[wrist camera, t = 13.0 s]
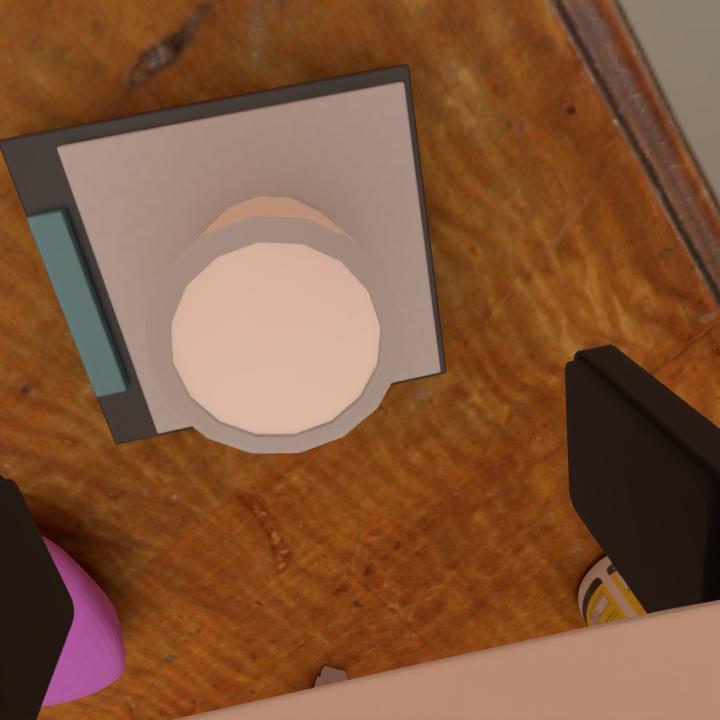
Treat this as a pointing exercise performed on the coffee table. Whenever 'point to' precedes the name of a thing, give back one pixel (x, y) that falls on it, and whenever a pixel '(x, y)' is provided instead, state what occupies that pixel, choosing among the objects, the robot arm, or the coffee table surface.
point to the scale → (220, 212)
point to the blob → (85, 637)
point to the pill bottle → (606, 596)
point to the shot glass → (274, 329)
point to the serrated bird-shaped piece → (330, 676)
